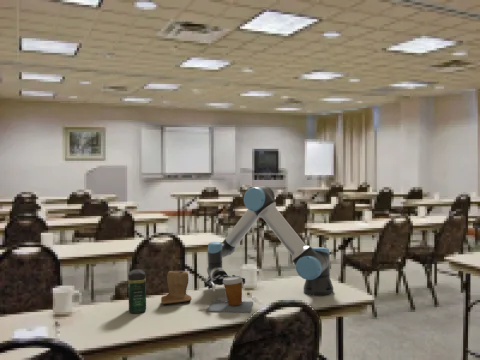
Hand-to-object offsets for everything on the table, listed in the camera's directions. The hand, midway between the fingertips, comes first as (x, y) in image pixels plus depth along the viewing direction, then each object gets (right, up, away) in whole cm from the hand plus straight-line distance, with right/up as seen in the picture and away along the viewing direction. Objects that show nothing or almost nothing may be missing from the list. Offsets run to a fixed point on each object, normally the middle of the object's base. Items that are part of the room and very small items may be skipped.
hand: (228, 286), depth 202 cm
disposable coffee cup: (+3, -8, +1) cm, 9 cm away
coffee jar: (-42, -10, -3) cm, 43 cm away
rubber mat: (+1, -9, -1) cm, 9 cm away
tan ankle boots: (-26, -10, +9) cm, 29 cm away
